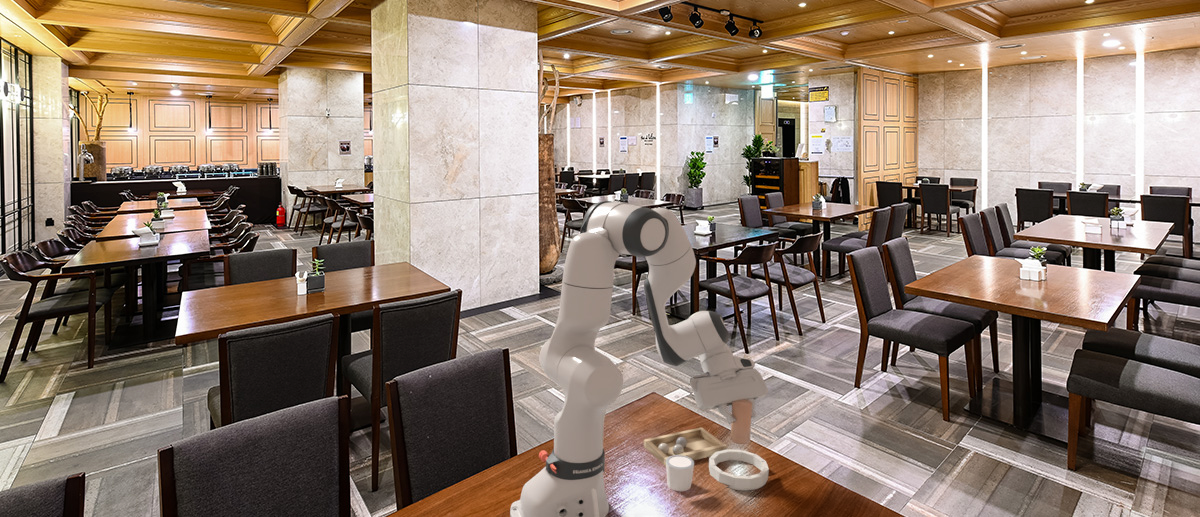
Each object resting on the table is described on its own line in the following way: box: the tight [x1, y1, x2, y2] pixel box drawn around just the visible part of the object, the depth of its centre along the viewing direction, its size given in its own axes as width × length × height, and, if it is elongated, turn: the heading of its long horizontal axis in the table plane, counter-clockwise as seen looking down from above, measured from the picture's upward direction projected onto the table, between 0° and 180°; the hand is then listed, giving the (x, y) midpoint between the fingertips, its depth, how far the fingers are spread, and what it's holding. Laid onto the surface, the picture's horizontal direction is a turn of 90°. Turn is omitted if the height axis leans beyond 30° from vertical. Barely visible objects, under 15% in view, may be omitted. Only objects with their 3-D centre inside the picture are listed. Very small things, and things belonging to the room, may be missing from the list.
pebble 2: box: [676, 437, 687, 448], centre depth 168 cm, size 3×3×3 cm
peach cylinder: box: [730, 399, 752, 445], centre depth 154 cm, size 5×5×10 cm
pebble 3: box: [673, 444, 684, 455], centre depth 164 cm, size 3×3×3 cm
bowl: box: [708, 448, 770, 492], centre depth 156 cm, size 14×14×3 cm
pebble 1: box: [658, 443, 669, 454], centre depth 164 cm, size 3×3×3 cm
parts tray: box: [643, 427, 728, 467], centre depth 167 cm, size 19×12×3 cm, turn 115°
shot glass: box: [665, 455, 695, 492], centre depth 149 cm, size 7×7×7 cm
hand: (742, 420), depth 153 cm, fingers closed on peach cylinder, 5 cm apart
